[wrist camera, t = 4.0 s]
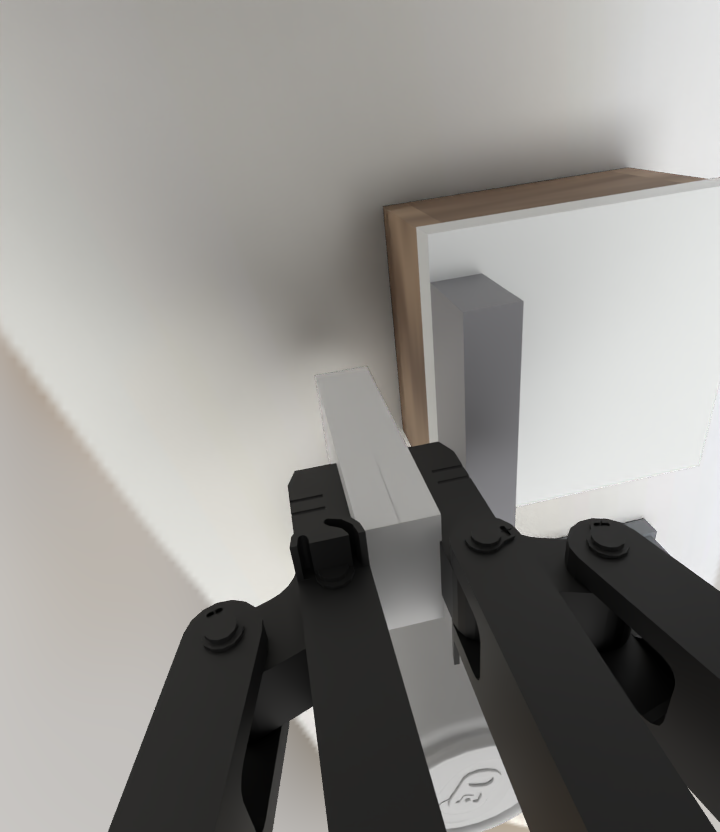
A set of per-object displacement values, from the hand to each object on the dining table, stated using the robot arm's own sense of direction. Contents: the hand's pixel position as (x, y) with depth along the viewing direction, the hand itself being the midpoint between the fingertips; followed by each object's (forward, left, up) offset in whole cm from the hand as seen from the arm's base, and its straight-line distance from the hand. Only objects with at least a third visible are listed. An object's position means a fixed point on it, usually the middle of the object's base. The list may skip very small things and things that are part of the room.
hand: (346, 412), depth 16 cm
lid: (0, +7, -1) cm, 7 cm away
